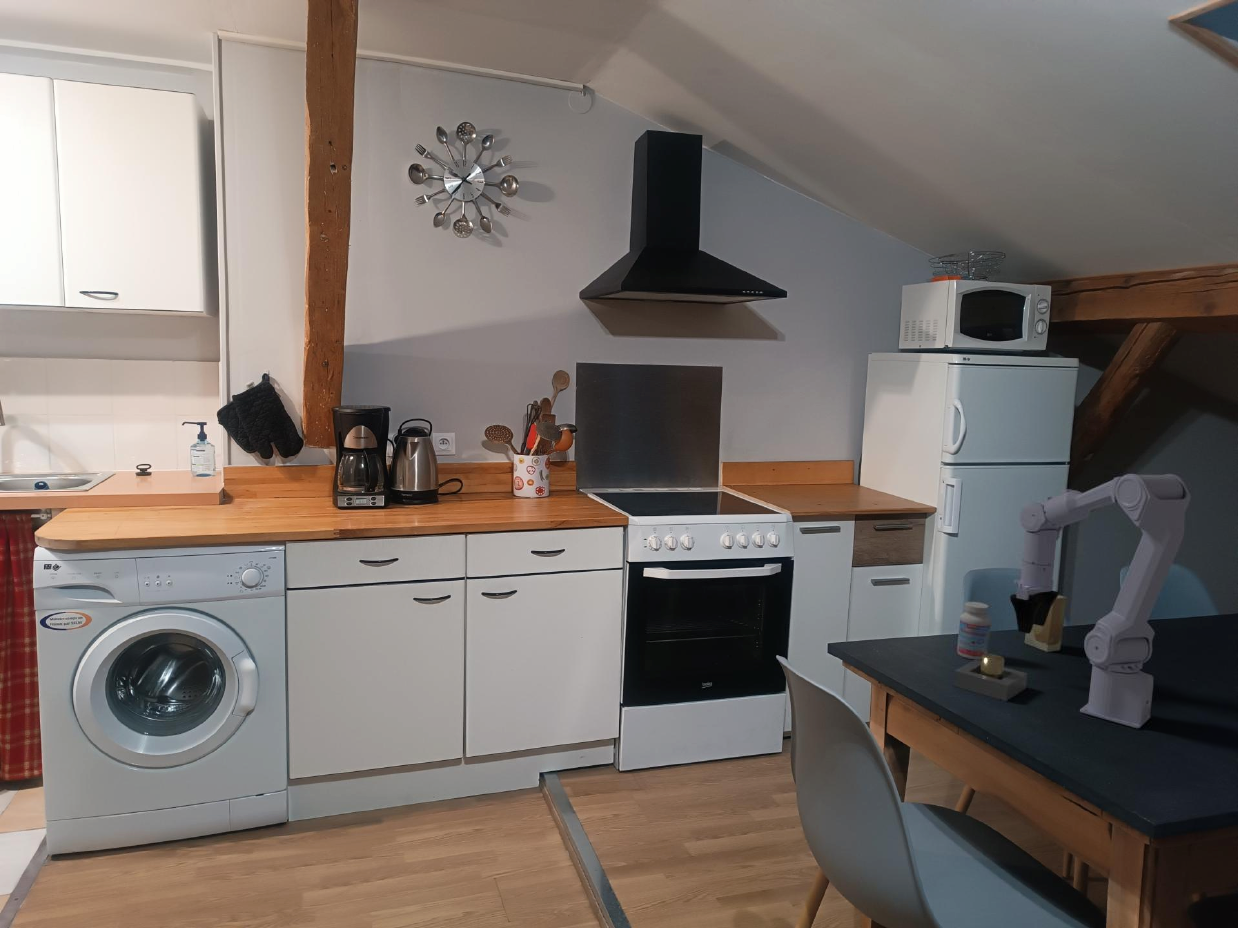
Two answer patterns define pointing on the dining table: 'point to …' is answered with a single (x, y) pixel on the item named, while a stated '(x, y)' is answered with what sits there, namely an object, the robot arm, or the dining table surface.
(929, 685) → the dining table surface
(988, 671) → the brass cylinder
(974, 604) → the pill bottle
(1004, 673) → the coupling block
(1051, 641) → the skincare box
